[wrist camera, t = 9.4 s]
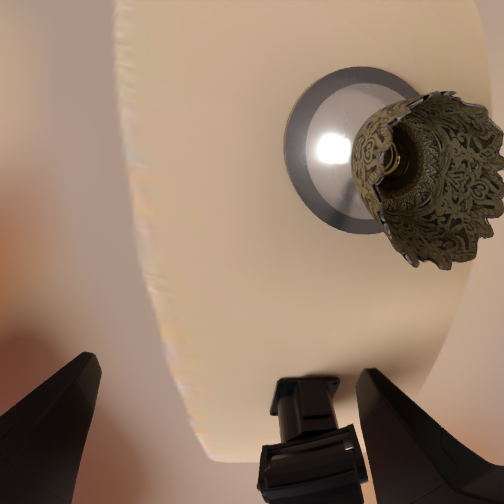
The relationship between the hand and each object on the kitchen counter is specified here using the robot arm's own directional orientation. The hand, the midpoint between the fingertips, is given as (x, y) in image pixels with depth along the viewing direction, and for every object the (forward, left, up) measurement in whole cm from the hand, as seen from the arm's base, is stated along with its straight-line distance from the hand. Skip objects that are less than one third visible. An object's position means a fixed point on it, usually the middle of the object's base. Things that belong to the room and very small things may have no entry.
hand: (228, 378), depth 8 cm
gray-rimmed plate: (+6, -8, -12) cm, 16 cm away
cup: (+6, -8, -11) cm, 15 cm away
